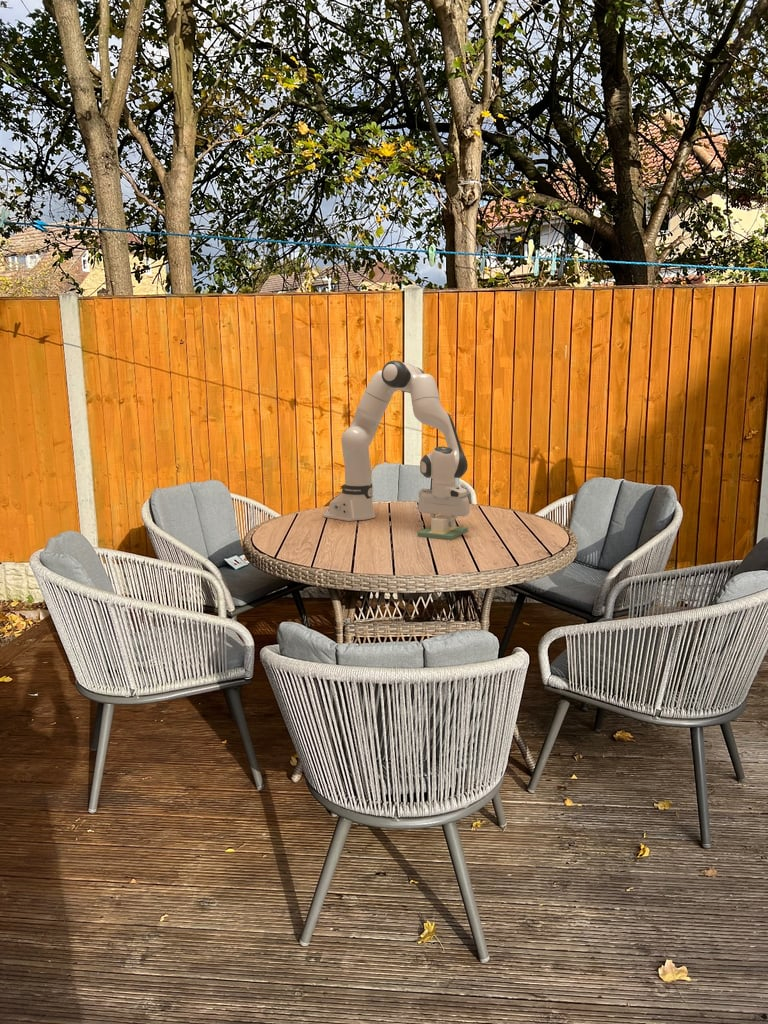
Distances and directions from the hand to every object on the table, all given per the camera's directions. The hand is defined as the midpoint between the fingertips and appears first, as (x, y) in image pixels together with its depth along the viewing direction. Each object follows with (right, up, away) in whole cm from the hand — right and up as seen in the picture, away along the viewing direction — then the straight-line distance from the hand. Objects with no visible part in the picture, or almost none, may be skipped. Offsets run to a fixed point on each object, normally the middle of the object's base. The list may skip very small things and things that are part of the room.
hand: (443, 525), depth 291 cm
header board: (0, -3, +1) cm, 3 cm away
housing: (0, -2, 0) cm, 2 cm away
